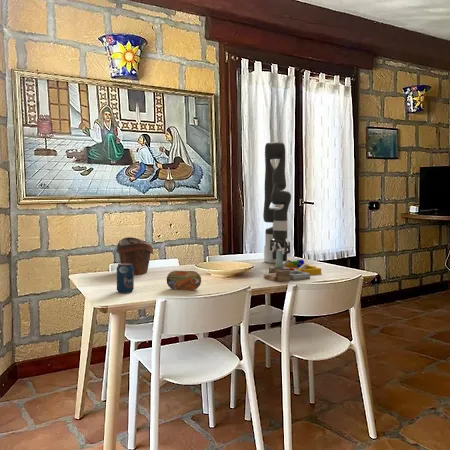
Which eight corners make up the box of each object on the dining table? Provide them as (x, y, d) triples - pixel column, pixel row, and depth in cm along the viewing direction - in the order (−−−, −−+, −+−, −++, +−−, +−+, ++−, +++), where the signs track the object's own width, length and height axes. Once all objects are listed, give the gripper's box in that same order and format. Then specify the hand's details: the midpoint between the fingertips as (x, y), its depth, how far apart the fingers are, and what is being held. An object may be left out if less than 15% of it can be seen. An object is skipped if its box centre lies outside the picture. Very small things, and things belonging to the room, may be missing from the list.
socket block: (268, 272, 241) (268, 267, 240) (280, 271, 245) (280, 266, 244) (277, 275, 234) (278, 269, 234) (290, 273, 238) (290, 268, 238)
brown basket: (143, 276, 225) (144, 240, 224) (108, 274, 231) (108, 239, 230) (160, 271, 241) (160, 237, 240) (127, 269, 248) (127, 236, 247)
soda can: (127, 294, 187) (127, 265, 186) (113, 292, 190) (113, 264, 189) (136, 291, 194) (136, 263, 193) (123, 289, 196) (122, 262, 195)
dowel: (274, 273, 240) (275, 250, 239) (280, 272, 242) (280, 250, 241) (278, 274, 237) (279, 251, 236) (284, 273, 239) (284, 250, 238)
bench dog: (275, 280, 219) (276, 270, 218) (285, 279, 222) (285, 269, 222) (279, 282, 216) (279, 271, 216) (289, 280, 219) (289, 270, 219)
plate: (263, 279, 226) (264, 274, 226) (276, 277, 230) (276, 272, 230) (273, 281, 219) (273, 276, 219) (286, 280, 223) (286, 275, 223)
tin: (166, 289, 198) (166, 270, 197) (168, 288, 201) (168, 269, 200) (200, 291, 195) (200, 271, 195) (201, 289, 198) (201, 270, 198)
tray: (281, 276, 230) (281, 271, 230) (296, 275, 235) (296, 270, 235) (293, 280, 221) (293, 275, 221) (309, 278, 226) (309, 273, 226)
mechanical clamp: (303, 265, 229) (273, 257, 257) (303, 278, 230) (273, 268, 257) (333, 263, 237) (301, 256, 264) (333, 275, 237) (301, 266, 264)
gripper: (266, 228, 242) (265, 259, 243) (282, 230, 229) (282, 262, 230) (277, 228, 245) (277, 258, 246) (294, 230, 233) (293, 261, 234)
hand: (279, 260), depth 238 cm, fingers open, 8 cm apart
